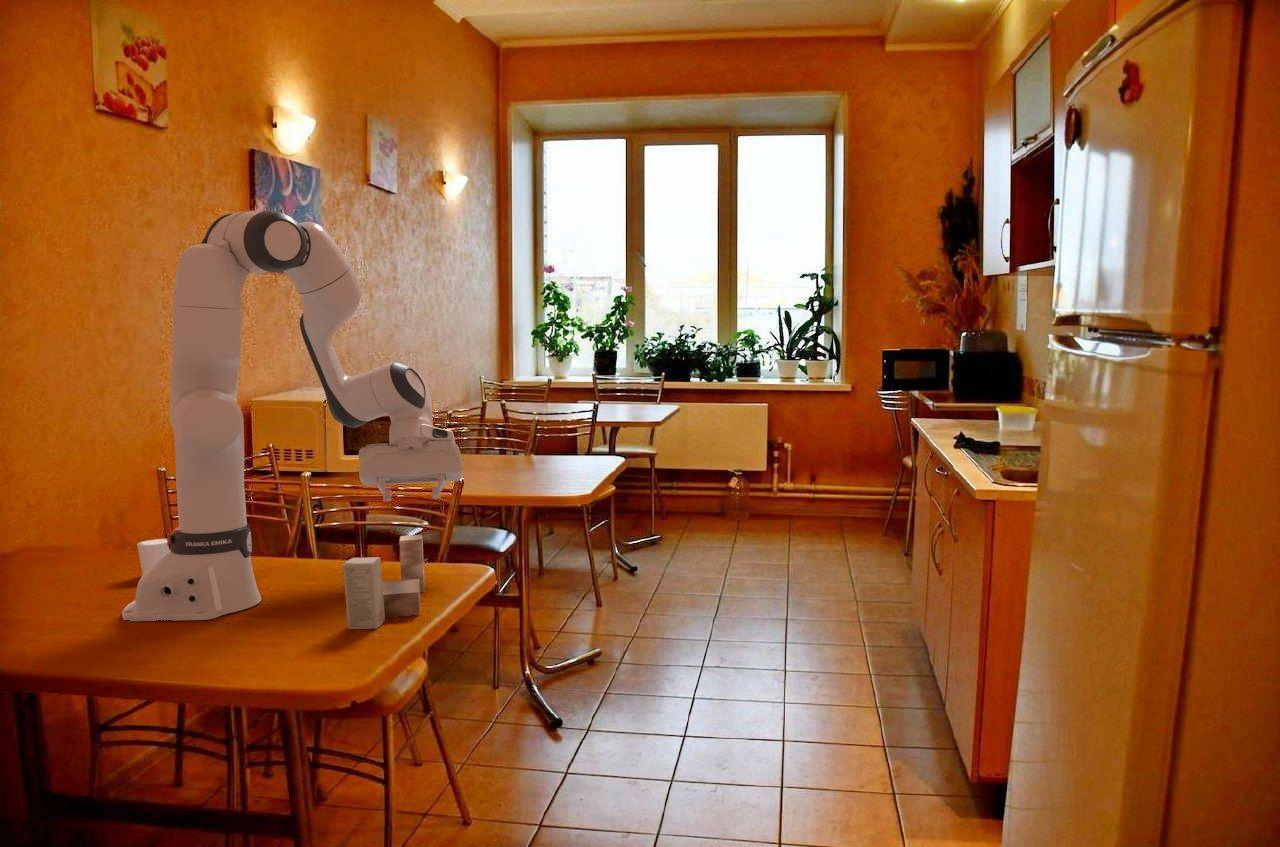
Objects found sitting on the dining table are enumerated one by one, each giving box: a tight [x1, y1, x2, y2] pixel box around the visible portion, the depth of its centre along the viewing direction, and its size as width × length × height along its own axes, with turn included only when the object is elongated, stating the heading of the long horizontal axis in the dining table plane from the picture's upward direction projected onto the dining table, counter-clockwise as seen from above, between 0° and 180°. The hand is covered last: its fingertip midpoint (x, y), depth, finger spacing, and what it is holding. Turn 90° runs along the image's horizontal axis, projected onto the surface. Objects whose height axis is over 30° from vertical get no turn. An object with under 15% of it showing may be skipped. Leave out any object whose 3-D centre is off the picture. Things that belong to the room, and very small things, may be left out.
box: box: [342, 556, 386, 630], centre depth 165 cm, size 5×4×11 cm
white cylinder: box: [136, 537, 170, 576], centre depth 201 cm, size 7×7×7 cm
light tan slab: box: [382, 579, 422, 618], centre depth 174 cm, size 9×9×4 cm
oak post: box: [399, 534, 426, 593], centre depth 186 cm, size 4×4×10 cm
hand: (411, 498), depth 197 cm, fingers open, 8 cm apart
